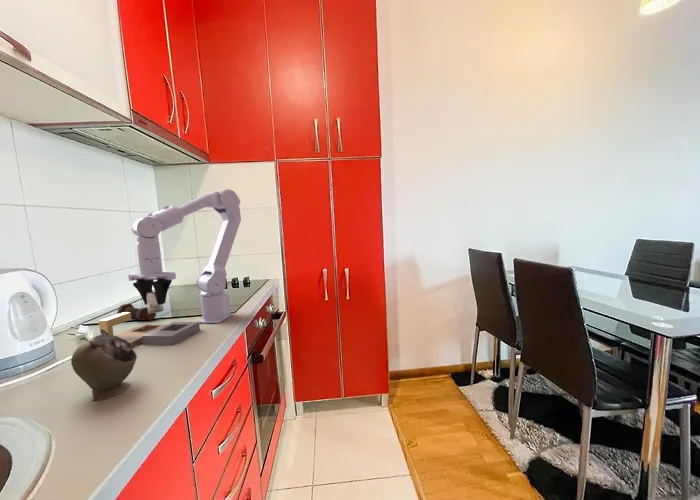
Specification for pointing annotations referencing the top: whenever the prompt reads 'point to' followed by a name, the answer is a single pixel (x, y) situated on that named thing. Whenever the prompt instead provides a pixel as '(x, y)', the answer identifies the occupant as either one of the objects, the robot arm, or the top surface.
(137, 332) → the socket board
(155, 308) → the peg
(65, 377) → the top surface
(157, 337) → the frame
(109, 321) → the bar
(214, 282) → the robot arm
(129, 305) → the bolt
